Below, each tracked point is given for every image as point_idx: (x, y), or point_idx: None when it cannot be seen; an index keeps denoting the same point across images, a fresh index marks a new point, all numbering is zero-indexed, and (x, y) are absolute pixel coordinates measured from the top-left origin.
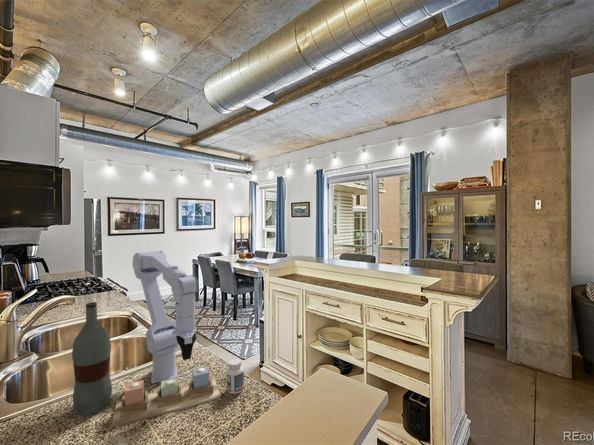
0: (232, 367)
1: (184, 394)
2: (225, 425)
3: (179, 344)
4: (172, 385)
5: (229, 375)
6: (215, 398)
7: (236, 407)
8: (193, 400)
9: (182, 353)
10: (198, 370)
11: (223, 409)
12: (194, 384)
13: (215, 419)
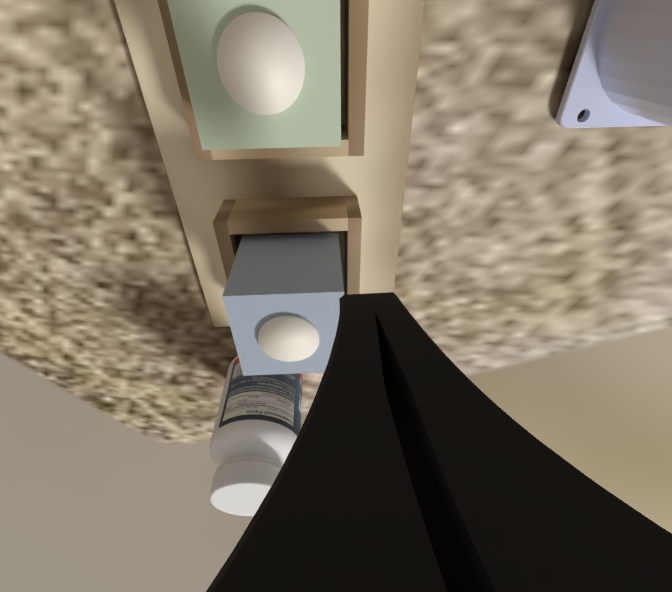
0: (214, 477)
1: (294, 164)
2: (6, 313)
3: (231, 562)
4: (210, 100)
5: (221, 427)
6: (208, 304)
7: (132, 358)
8: (209, 210)
9: (332, 357)
10: (289, 328)
11: (124, 319)
12: (234, 259)
13: (49, 285)
